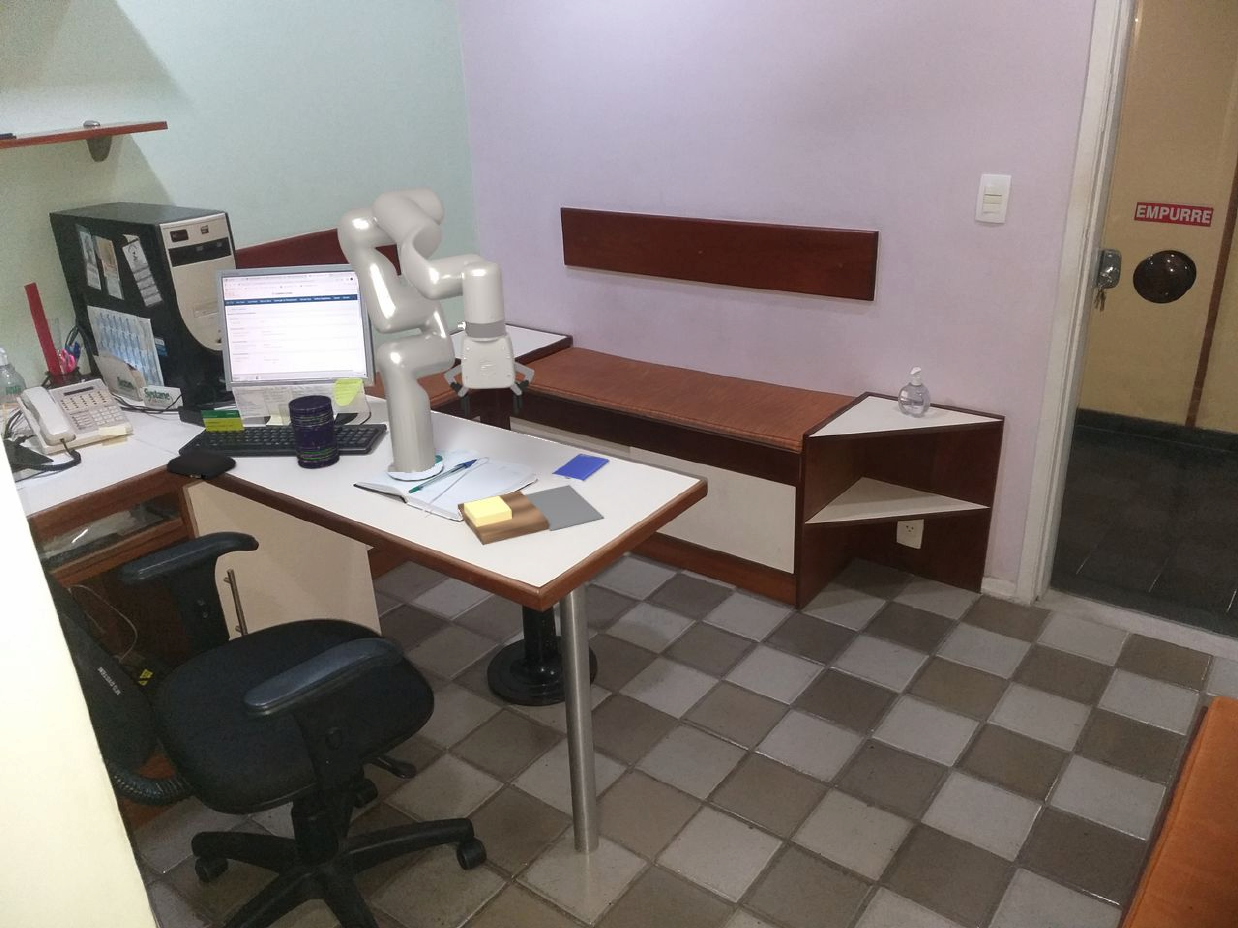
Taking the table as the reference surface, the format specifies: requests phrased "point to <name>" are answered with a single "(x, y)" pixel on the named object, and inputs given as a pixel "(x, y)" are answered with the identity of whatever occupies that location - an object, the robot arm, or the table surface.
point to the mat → (563, 507)
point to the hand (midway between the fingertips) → (492, 412)
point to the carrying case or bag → (201, 464)
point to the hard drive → (580, 468)
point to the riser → (510, 520)
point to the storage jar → (314, 431)
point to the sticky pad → (487, 511)
